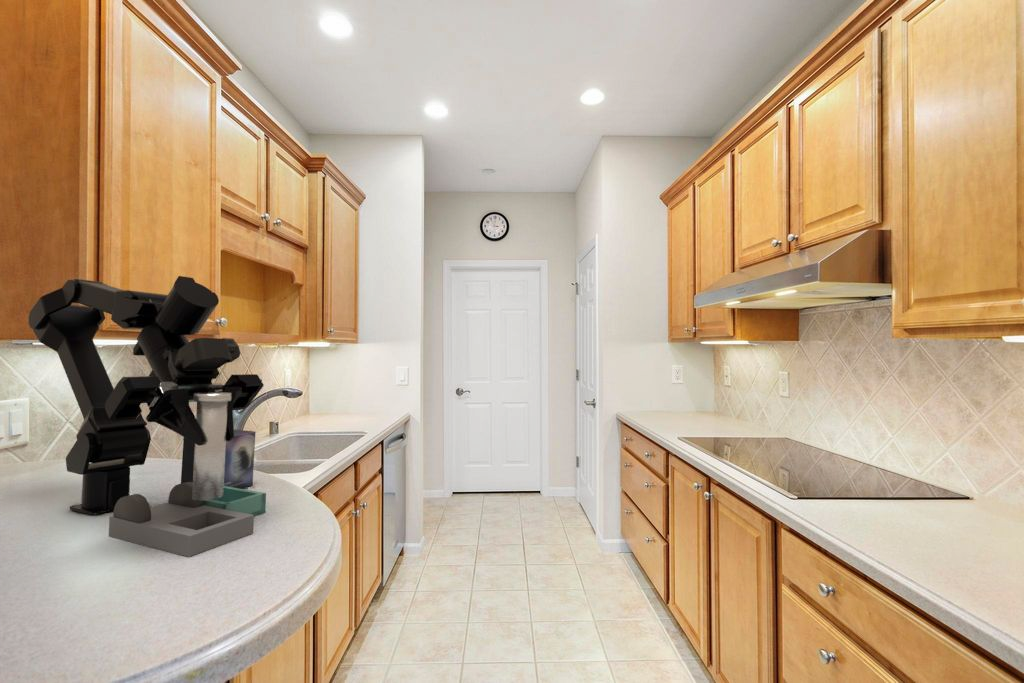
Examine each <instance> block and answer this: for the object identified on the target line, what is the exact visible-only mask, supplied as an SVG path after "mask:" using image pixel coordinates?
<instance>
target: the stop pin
mask: <svg viewBox="0 0 1024 683" xmlns="http://www.w3.org/2000/svg"><path fill="white" fill-rule="evenodd" d="M231 394H232V393H229V392H200V393H194V400H193V401H195V402H196V414H195V418H196V420H197V422H198V424H199V426H200V428H201V429H202V432H203V434H204V437H205V442H204V444H203V445H201V446H199V445H197V444H195V451H194V470H193V490H192V499H193V500H212V499H217V498H220V497H222V496H223V491H224V470H225V449H226V429H227V408H228V401H231ZM195 402H194V403H195Z"/></svg>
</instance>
